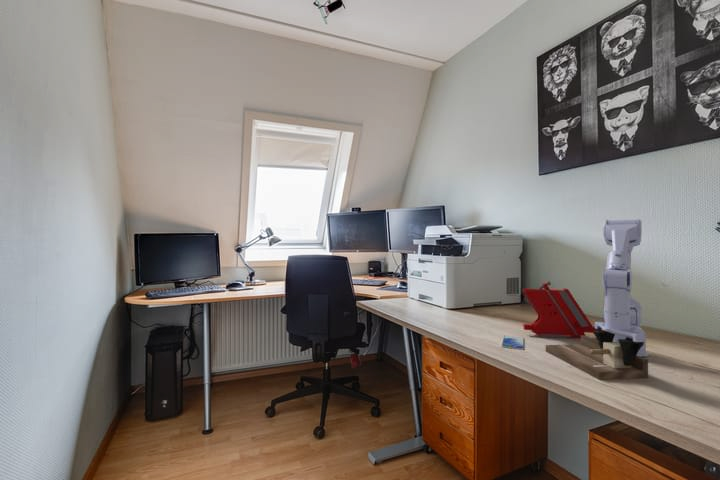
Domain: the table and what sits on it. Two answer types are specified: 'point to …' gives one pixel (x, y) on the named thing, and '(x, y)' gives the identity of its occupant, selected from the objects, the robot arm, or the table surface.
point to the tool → (556, 314)
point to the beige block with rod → (611, 354)
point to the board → (596, 360)
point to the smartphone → (513, 342)
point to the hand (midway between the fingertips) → (617, 360)
